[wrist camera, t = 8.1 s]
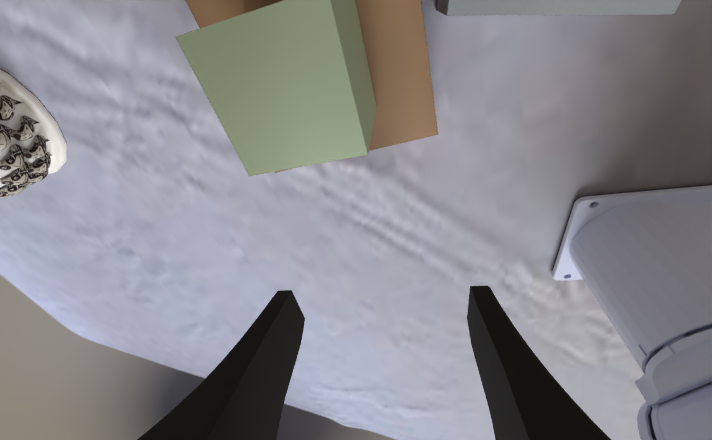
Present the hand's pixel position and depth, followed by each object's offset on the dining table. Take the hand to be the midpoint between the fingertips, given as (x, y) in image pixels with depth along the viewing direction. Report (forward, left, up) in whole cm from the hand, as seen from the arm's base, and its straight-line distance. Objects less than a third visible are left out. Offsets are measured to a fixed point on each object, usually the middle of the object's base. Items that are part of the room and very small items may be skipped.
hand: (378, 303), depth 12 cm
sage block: (+2, -8, -7) cm, 11 cm away
